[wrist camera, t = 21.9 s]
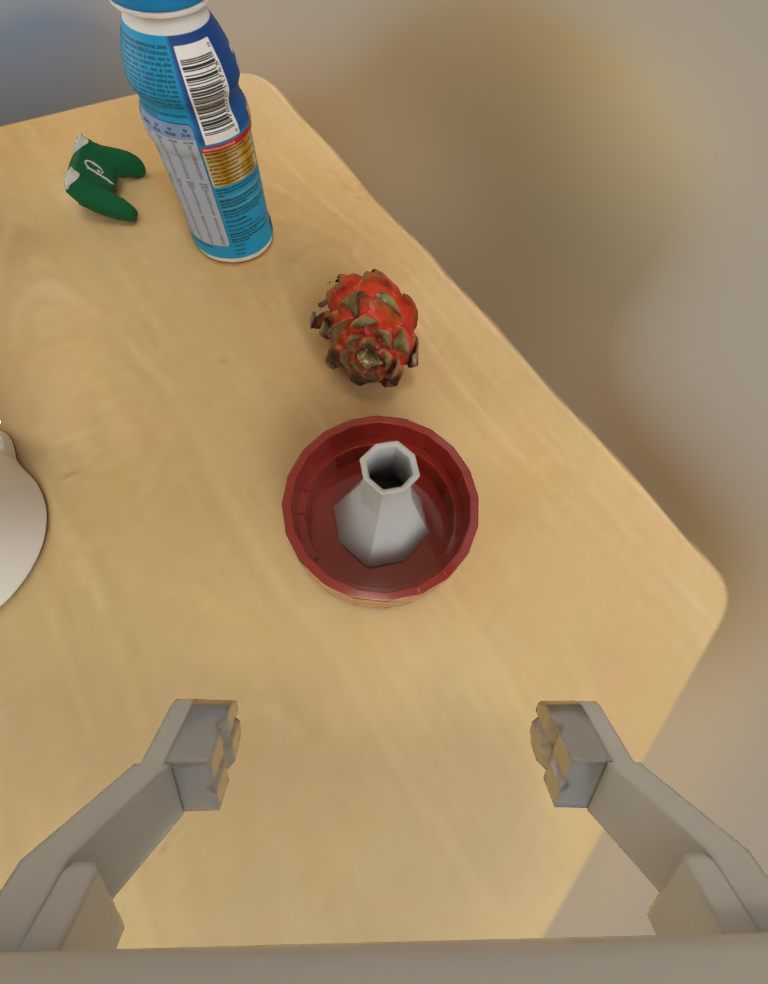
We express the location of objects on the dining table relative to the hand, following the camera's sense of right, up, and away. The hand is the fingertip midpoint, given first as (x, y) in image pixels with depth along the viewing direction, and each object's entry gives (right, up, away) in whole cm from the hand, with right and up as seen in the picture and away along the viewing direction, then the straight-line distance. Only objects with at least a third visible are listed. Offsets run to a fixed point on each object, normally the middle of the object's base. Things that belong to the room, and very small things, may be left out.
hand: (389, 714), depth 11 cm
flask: (0, +4, +20) cm, 20 cm away
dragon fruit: (-2, +19, +27) cm, 33 cm away
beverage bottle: (-16, +33, +31) cm, 48 cm away
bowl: (-1, +4, +21) cm, 21 cm away
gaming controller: (-29, +38, +32) cm, 58 cm away
